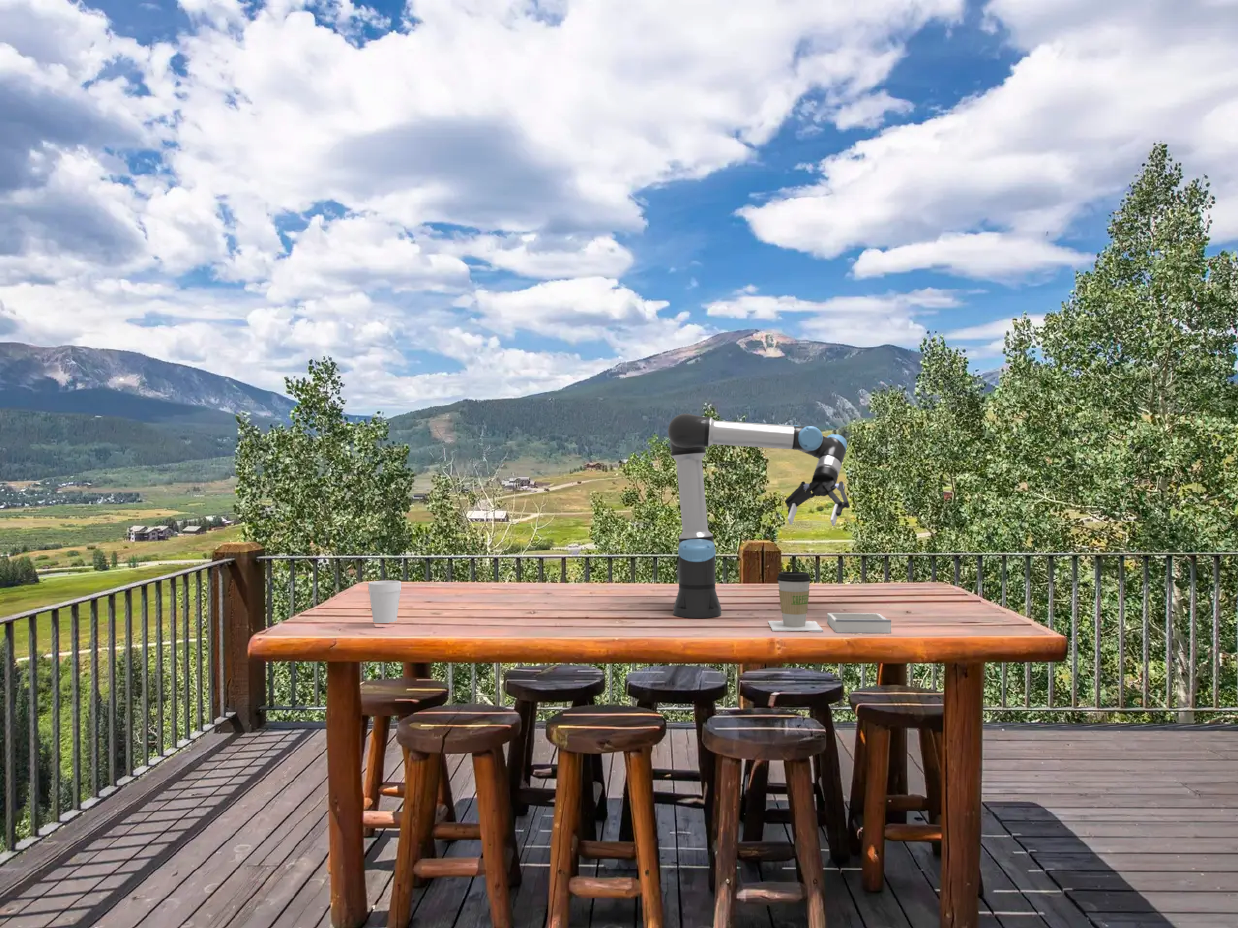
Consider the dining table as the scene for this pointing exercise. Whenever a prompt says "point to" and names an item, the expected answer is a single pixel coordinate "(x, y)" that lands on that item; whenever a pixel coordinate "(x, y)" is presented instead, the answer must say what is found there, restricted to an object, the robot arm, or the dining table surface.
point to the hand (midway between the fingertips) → (810, 522)
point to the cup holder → (858, 623)
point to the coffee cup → (794, 597)
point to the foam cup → (384, 600)
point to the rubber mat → (808, 626)
